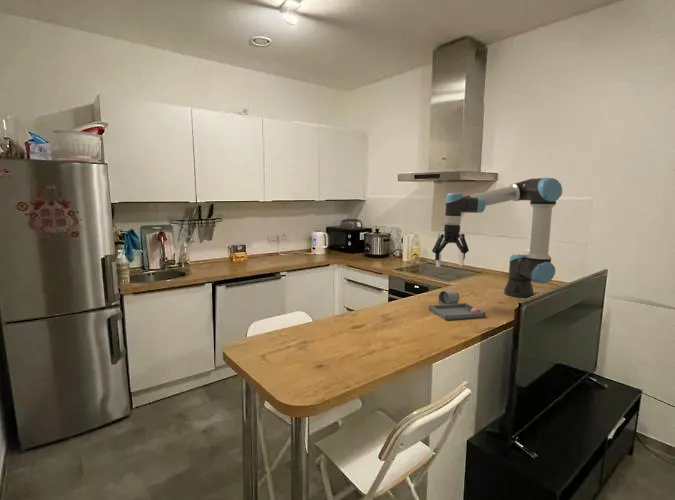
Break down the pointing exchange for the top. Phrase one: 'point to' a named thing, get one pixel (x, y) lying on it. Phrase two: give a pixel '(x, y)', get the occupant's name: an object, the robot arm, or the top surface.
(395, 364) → the top surface
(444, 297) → the ceramic mug
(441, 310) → the tray
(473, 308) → the ball
